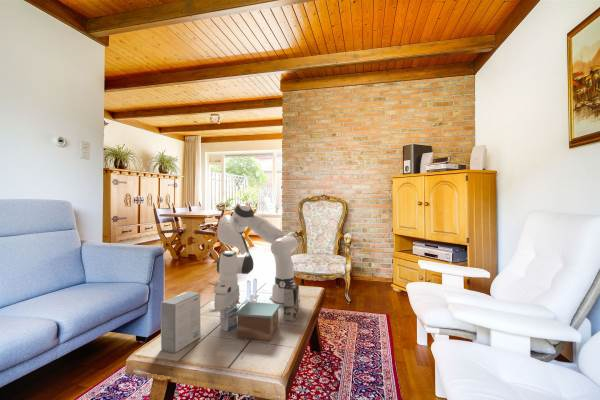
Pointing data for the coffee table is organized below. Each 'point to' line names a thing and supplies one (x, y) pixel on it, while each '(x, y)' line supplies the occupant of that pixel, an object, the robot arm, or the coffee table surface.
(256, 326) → the walnut box
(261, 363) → the coffee table surface
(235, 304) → the unicorn figurine
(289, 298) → the coffee box
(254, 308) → the lid
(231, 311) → the medicine box
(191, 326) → the hard drive box
